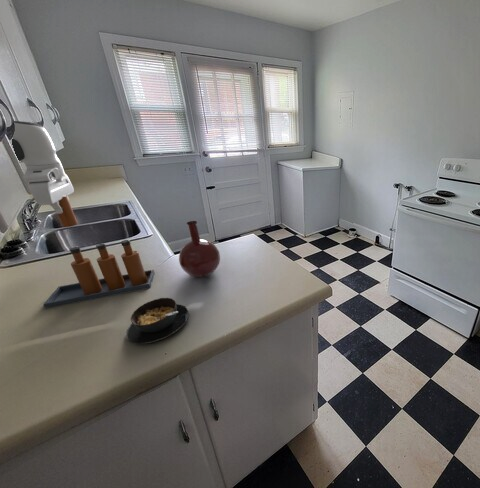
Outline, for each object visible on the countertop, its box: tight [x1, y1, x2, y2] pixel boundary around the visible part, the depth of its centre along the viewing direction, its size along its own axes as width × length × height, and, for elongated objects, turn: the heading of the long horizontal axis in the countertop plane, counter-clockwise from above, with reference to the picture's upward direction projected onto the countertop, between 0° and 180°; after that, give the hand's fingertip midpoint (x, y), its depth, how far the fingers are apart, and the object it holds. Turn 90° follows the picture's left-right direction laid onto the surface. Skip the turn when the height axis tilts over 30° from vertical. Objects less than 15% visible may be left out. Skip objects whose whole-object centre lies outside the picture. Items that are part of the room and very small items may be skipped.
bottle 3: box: [120, 239, 148, 286], centre depth 89 cm, size 5×5×16 cm
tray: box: [42, 269, 156, 309], centre depth 89 cm, size 27×10×2 cm, turn 113°
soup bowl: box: [126, 297, 190, 345], centre depth 71 cm, size 15×16×7 cm
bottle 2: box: [95, 242, 125, 290], centre depth 87 cm, size 5×5×16 cm
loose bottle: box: [55, 195, 79, 228], centre depth 98 cm, size 5×5×16 cm
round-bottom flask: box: [178, 220, 221, 278], centre depth 94 cm, size 13×13×20 cm
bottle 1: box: [69, 246, 102, 295], centre depth 84 cm, size 5×5×16 cm
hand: (63, 210), depth 99 cm, fingers closed on loose bottle, 4 cm apart
